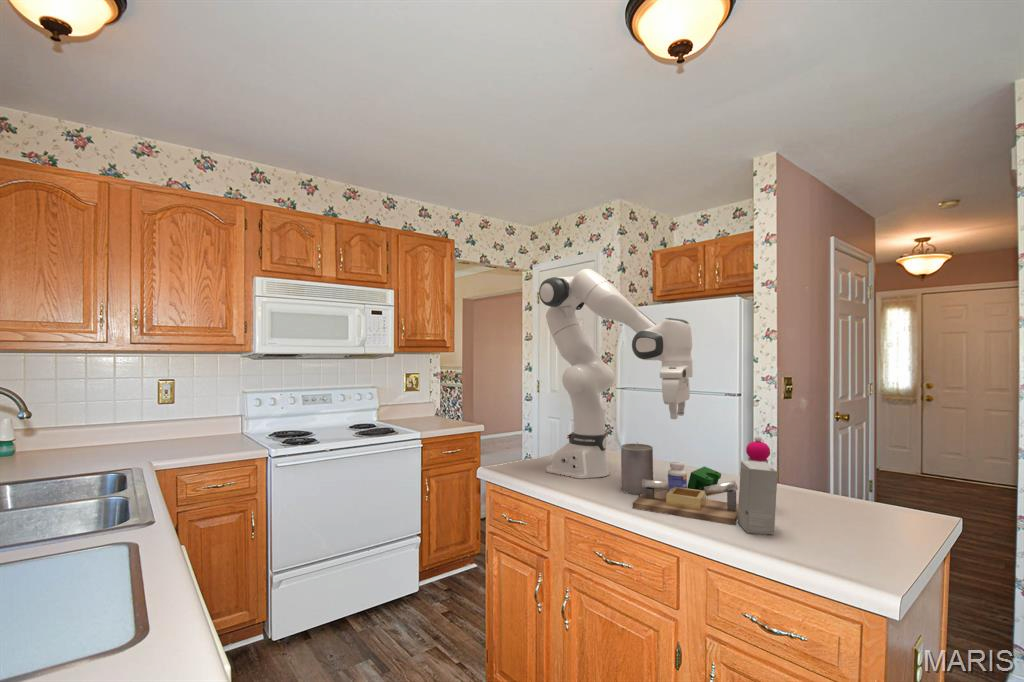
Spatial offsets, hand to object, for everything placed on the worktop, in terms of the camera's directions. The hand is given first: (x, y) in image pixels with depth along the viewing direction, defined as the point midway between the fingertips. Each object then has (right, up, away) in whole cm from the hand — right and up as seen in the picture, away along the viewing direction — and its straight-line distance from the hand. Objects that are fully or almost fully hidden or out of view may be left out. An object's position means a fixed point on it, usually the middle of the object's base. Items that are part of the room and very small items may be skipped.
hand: (677, 417), depth 151 cm
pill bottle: (0, -24, -1) cm, 24 cm away
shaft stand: (-2, -23, -13) cm, 27 cm away
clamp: (+11, -24, +7) cm, 27 cm away
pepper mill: (+18, -24, -13) cm, 32 cm away
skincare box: (+10, -23, -29) cm, 38 cm away
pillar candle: (-11, -24, +5) cm, 27 cm away
